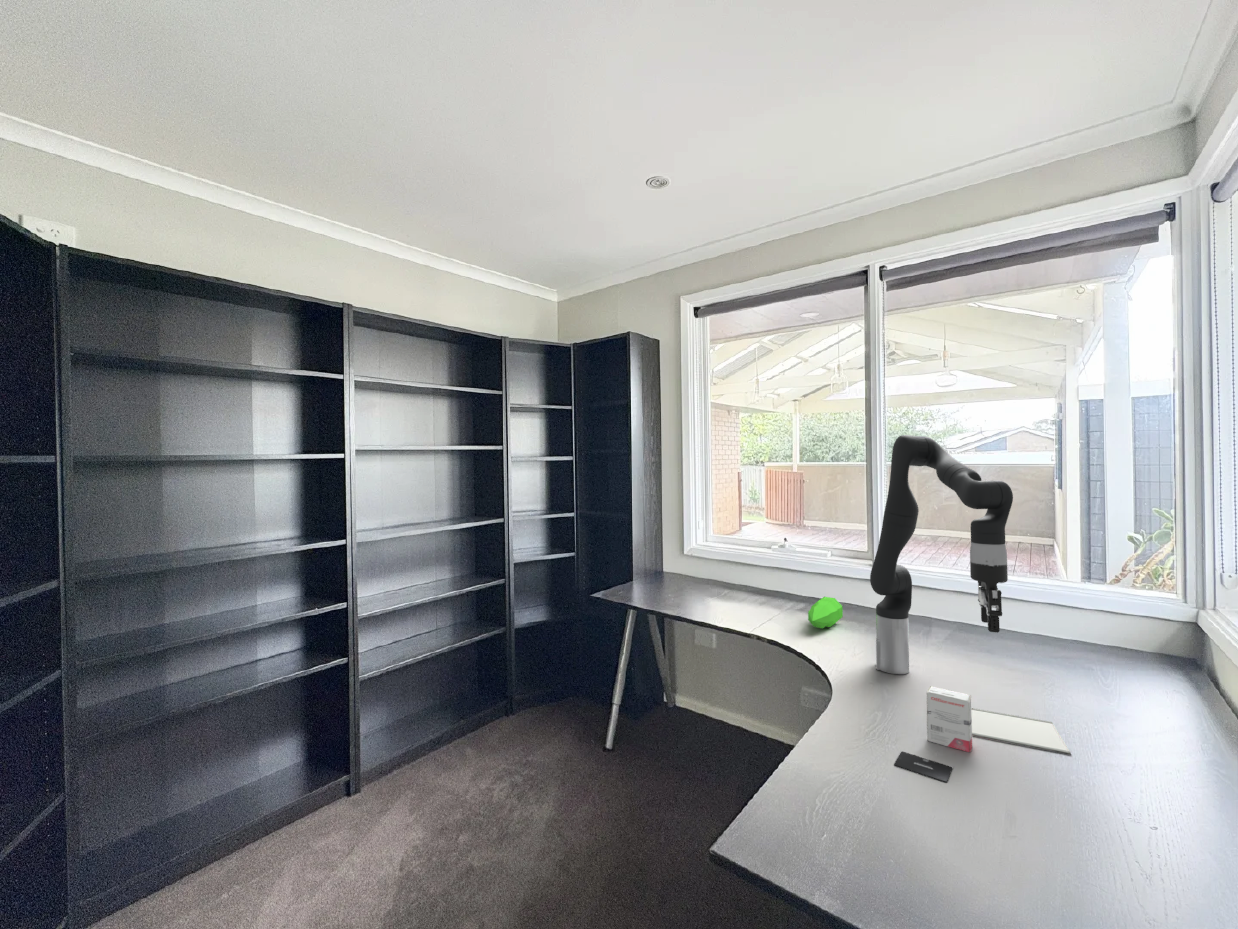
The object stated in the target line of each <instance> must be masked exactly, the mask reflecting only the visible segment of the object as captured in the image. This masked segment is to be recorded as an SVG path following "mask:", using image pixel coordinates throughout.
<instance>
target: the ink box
mask: <svg viewBox="0 0 1238 929" xmlns="http://www.w3.org/2000/svg"><path fill="white" fill-rule="evenodd" d="M971 708H972V695H970V694H967V693H963V692H959V691H953V690H950V689H945V688H942V687H936V686H929V687H928V689H927V691H926V736H927V738H926V739H927V741H928V742H930V743H934V744H938V745H941V746H945V747H948V748H952V749H956V750H959V751H963V752H966V753H971V752H972V749H973V736H972V717H971Z"/></svg>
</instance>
